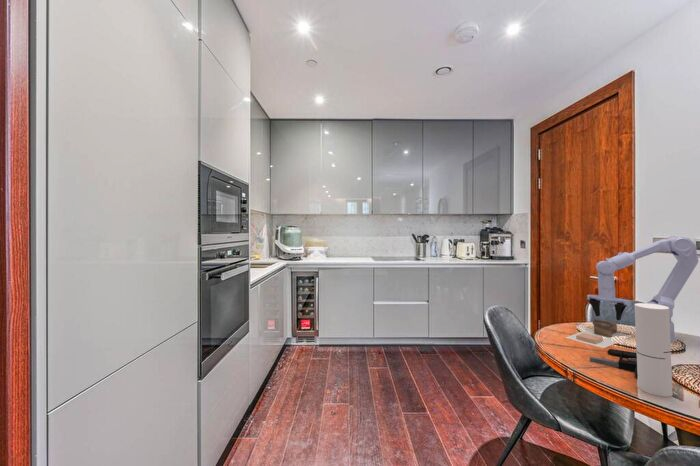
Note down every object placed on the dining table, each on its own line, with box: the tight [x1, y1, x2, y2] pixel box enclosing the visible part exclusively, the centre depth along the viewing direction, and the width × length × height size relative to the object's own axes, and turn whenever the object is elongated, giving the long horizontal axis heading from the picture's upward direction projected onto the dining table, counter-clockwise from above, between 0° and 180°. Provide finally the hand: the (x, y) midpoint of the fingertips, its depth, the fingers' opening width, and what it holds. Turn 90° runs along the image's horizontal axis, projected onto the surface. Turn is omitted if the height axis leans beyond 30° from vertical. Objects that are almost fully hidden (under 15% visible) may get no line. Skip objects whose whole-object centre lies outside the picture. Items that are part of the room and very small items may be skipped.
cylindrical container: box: [634, 302, 674, 398], centre depth 87 cm, size 7×7×25 cm
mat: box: [564, 327, 633, 349], centre depth 129 cm, size 25×14×1 cm, turn 116°
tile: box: [576, 333, 603, 344], centre depth 125 cm, size 2×7×6 cm
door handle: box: [589, 348, 638, 379], centre depth 104 cm, size 3×20×16 cm
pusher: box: [591, 318, 618, 338], centre depth 132 cm, size 11×6×6 cm, turn 116°
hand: (608, 317), depth 132 cm, fingers open, 7 cm apart
